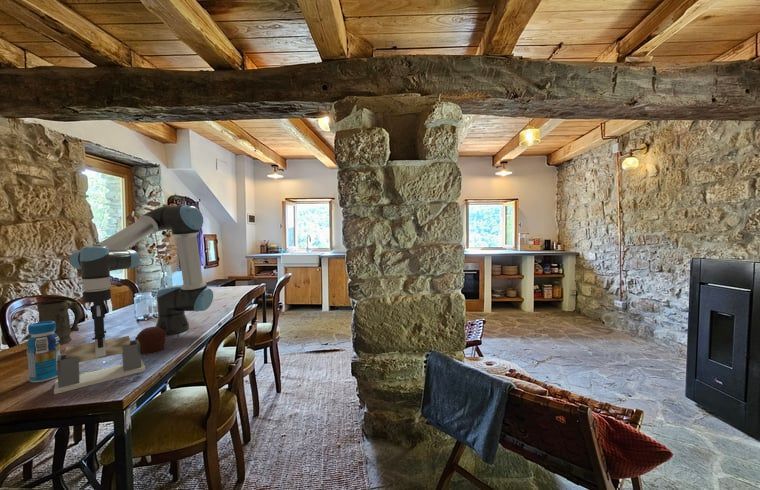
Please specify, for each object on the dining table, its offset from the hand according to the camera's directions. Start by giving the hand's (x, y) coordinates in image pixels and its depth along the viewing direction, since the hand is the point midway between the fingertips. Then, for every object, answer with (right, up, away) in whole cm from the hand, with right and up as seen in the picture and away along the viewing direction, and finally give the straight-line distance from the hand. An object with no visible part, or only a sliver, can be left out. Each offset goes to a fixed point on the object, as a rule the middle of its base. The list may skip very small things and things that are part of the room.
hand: (100, 354), depth 114 cm
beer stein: (-53, -7, +39) cm, 66 cm away
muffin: (0, -7, +25) cm, 26 cm away
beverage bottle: (-20, -9, +1) cm, 22 cm away
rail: (0, -1, 0) cm, 1 cm away
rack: (0, -8, +1) cm, 8 cm away
